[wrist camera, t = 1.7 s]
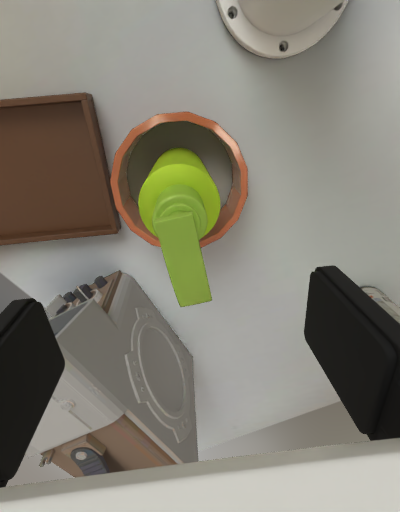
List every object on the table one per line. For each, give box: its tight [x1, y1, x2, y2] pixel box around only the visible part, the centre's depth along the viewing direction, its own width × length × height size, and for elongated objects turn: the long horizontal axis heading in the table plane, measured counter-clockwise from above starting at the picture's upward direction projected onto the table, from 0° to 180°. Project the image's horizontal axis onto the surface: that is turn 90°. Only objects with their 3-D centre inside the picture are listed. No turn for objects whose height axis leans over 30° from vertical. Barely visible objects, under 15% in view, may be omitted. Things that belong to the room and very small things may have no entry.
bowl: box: [110, 112, 248, 248], centre depth 29 cm, size 13×13×5 cm
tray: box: [0, 93, 121, 245], centre depth 29 cm, size 14×18×2 cm
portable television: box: [25, 270, 198, 478], centre depth 27 cm, size 12×24×30 cm, turn 27°
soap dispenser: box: [138, 148, 220, 307], centre depth 23 cm, size 6×7×20 cm
